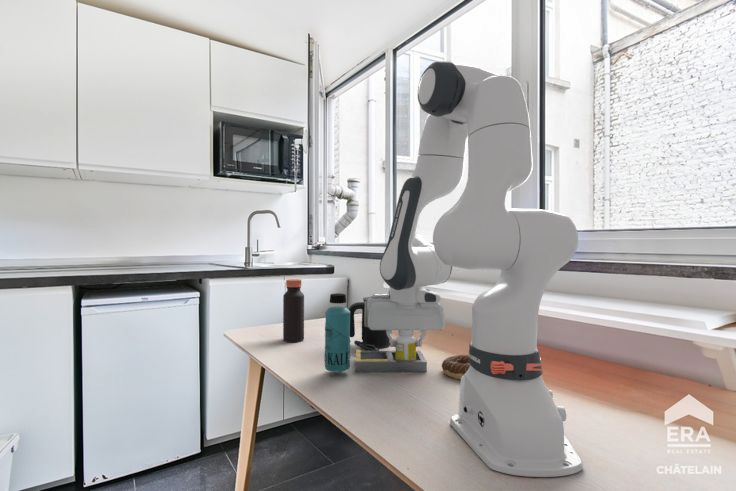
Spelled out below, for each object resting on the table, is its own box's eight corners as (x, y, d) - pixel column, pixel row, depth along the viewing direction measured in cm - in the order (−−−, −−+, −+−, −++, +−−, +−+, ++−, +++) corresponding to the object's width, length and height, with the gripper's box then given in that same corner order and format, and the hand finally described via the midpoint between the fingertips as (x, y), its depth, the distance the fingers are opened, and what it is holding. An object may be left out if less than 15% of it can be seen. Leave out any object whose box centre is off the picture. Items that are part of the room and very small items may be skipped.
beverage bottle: (335, 367, 99) (336, 291, 98) (356, 372, 95) (356, 293, 95) (318, 374, 93) (318, 293, 93) (339, 380, 90) (339, 296, 89)
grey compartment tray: (426, 371, 96) (426, 360, 96) (355, 372, 95) (355, 360, 95) (420, 359, 106) (420, 349, 106) (356, 359, 105) (356, 349, 105)
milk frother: (384, 339, 127) (384, 295, 127) (405, 353, 112) (405, 303, 112) (343, 343, 122) (343, 297, 122) (359, 358, 107) (359, 305, 107)
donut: (492, 382, 89) (492, 365, 89) (448, 383, 89) (448, 366, 89) (476, 367, 100) (476, 352, 100) (437, 367, 99) (437, 352, 99)
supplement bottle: (415, 362, 103) (415, 326, 103) (416, 369, 98) (416, 331, 98) (395, 361, 104) (395, 326, 104) (395, 368, 98) (395, 330, 98)
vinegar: (296, 336, 130) (297, 278, 130) (308, 340, 125) (308, 280, 125) (279, 339, 126) (279, 279, 126) (290, 344, 121) (290, 281, 121)
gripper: (367, 296, 97) (366, 349, 97) (446, 296, 97) (446, 349, 98) (366, 292, 103) (366, 343, 104) (441, 292, 104) (440, 343, 104)
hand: (405, 346), depth 101 cm, fingers closed on supplement bottle, 5 cm apart
